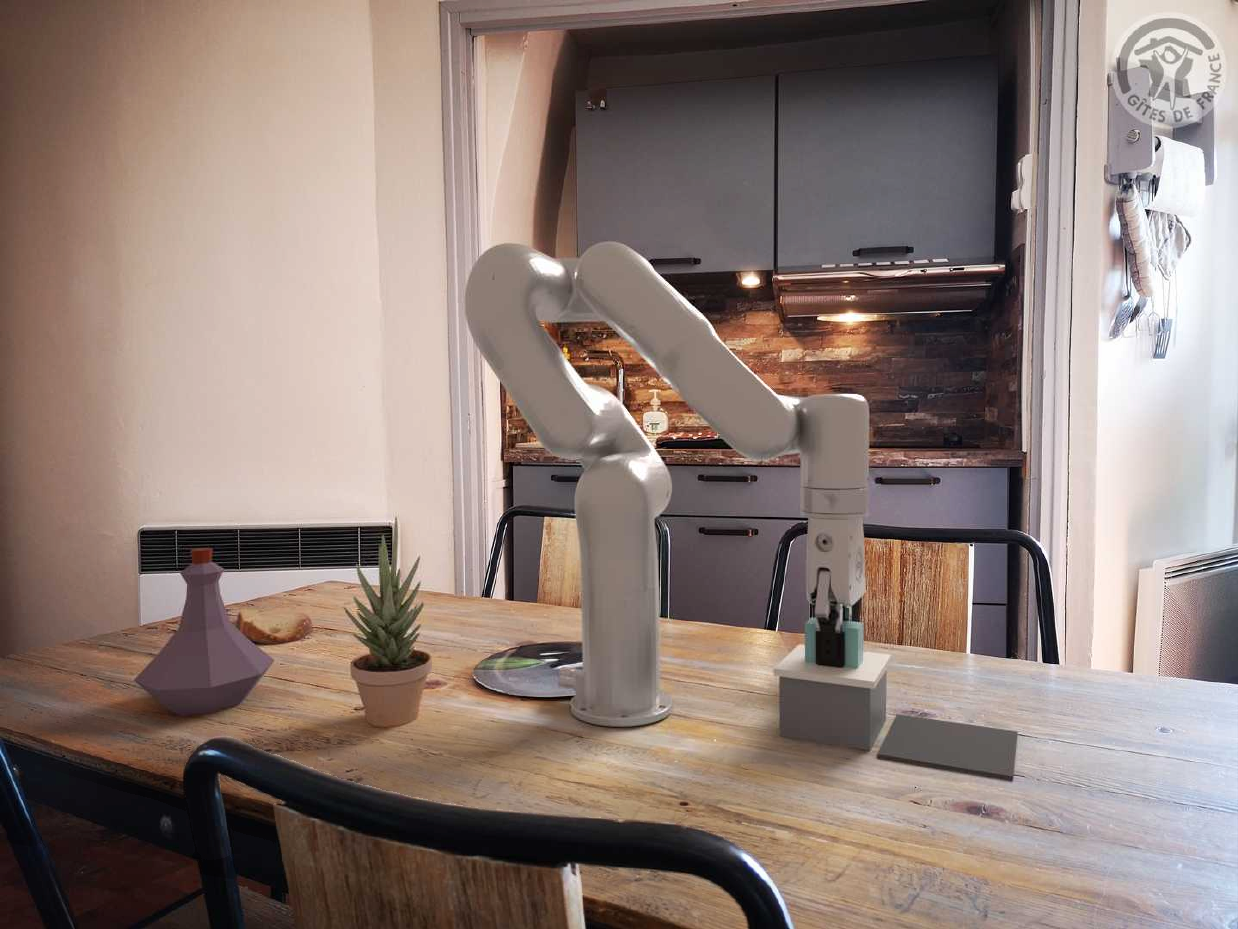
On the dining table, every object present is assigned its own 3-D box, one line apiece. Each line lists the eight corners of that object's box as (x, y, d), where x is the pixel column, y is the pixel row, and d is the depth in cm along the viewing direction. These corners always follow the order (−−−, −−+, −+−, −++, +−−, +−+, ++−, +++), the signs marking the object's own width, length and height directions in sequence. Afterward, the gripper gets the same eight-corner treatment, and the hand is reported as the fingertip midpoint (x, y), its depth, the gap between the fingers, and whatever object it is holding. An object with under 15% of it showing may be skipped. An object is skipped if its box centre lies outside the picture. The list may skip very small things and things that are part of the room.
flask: (302, 687, 115) (297, 541, 114) (214, 731, 99) (207, 562, 98) (202, 678, 120) (196, 538, 118) (103, 719, 104) (95, 558, 103)
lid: (773, 684, 95) (773, 629, 95) (799, 658, 105) (799, 608, 104) (874, 698, 90) (874, 640, 90) (891, 669, 100) (891, 617, 99)
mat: (877, 757, 89) (877, 753, 89) (896, 717, 101) (896, 714, 101) (1012, 780, 83) (1012, 776, 83) (1017, 734, 95) (1017, 731, 95)
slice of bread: (250, 618, 157) (249, 598, 156) (341, 621, 154) (340, 600, 154) (186, 644, 139) (185, 622, 139) (288, 648, 136) (287, 625, 136)
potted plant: (403, 737, 97) (397, 523, 95) (335, 727, 100) (328, 520, 99) (450, 708, 106) (445, 512, 105) (386, 700, 109) (380, 510, 108)
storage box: (779, 735, 96) (779, 675, 95) (802, 708, 104) (802, 652, 104) (870, 750, 91) (870, 687, 91) (886, 720, 100) (886, 662, 100)
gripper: (852, 511, 87) (852, 686, 88) (881, 497, 102) (880, 647, 103) (781, 509, 91) (782, 677, 92) (818, 494, 105) (818, 640, 106)
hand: (833, 660), depth 97 cm, fingers closed on lid, 3 cm apart
